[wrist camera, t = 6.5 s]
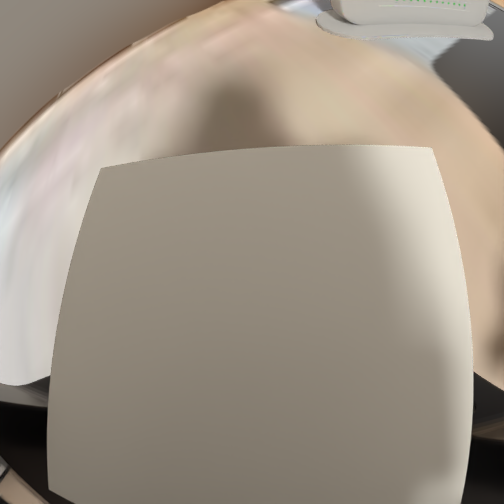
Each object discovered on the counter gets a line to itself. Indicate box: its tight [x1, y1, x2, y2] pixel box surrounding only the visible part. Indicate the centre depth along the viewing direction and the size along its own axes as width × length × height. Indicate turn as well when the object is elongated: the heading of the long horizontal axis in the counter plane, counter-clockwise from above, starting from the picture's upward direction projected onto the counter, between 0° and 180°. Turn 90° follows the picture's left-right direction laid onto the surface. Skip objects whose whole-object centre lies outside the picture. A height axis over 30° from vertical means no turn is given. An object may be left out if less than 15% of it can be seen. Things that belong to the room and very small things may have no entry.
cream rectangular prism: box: [47, 145, 473, 504], centre depth 9 cm, size 5×5×13 cm
